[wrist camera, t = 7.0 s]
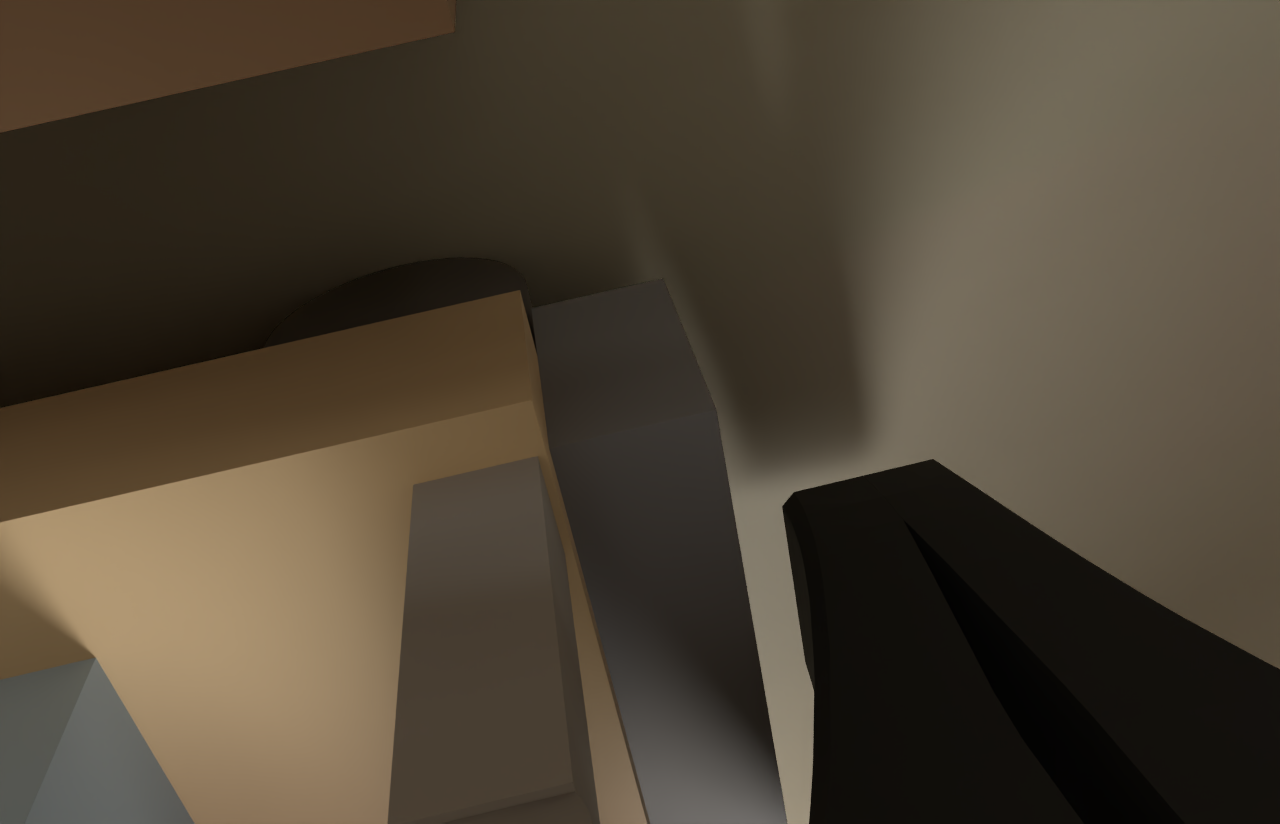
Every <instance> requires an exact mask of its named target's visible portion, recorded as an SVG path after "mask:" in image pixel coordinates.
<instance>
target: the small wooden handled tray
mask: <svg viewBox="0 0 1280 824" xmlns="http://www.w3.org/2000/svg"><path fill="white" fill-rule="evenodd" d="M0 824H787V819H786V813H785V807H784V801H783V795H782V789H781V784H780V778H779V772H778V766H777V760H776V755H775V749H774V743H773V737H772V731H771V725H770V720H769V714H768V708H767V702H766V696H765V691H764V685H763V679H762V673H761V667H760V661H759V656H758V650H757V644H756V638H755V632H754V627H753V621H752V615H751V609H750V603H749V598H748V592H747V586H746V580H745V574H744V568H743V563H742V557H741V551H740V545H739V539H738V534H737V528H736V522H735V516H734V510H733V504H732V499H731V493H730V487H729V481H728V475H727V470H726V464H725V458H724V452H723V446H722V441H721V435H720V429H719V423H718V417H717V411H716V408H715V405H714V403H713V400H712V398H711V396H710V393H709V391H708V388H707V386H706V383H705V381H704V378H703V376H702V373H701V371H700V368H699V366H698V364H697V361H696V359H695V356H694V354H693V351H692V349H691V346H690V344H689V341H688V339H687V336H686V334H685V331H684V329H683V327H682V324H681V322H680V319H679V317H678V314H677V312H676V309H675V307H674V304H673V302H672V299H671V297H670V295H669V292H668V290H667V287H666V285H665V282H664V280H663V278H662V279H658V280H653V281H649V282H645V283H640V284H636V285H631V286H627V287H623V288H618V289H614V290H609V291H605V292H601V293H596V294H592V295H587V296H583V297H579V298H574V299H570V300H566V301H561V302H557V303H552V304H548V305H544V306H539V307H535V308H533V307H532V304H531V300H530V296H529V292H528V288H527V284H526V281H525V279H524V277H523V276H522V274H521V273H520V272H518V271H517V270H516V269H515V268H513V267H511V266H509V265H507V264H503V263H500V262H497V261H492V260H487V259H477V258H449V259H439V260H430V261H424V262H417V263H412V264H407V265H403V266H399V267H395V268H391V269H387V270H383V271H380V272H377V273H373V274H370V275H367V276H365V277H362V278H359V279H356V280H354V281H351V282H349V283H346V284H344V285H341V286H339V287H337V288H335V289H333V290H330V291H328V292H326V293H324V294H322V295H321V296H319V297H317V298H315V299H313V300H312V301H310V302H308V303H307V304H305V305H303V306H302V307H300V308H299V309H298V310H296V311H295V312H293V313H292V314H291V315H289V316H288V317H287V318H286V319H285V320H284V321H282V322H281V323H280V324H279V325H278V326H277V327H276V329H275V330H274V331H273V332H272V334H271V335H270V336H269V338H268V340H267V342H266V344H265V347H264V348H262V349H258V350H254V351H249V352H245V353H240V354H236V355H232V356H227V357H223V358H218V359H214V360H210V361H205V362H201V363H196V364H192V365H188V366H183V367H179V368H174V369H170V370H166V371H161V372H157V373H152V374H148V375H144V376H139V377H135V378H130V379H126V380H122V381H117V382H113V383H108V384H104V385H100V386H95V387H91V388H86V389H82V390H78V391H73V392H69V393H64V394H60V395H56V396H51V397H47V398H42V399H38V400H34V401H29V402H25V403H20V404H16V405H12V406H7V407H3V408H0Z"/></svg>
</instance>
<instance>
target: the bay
mask: <svg viewBox="0 0 1280 824" xmlns="http://www.w3.org/2000/svg"><path fill="white" fill-rule="evenodd" d="M455 19H456V0H0V133H1V132H6V131H10V130H15V129H19V128H24V127H28V126H33V125H37V124H42V123H46V122H51V121H55V120H60V119H64V118H69V117H74V116H78V115H83V114H87V113H92V112H96V111H101V110H105V109H110V108H114V107H119V106H123V105H128V104H132V103H137V102H141V101H146V100H150V99H155V98H159V97H164V96H168V95H173V94H177V93H182V92H186V91H191V90H195V89H200V88H205V87H209V86H214V85H218V84H223V83H227V82H232V81H236V80H241V79H245V78H250V77H254V76H259V75H263V74H268V73H272V72H277V71H281V70H286V69H290V68H295V67H299V66H304V65H308V64H313V63H317V62H322V61H327V60H331V59H336V58H340V57H345V56H349V55H354V54H358V53H363V52H367V51H372V50H376V49H381V48H385V47H390V46H394V45H399V44H403V43H408V42H412V41H417V40H421V39H426V38H430V37H435V36H439V35H444V34H448V33H453V32H455Z"/></svg>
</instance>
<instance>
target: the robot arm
mask: <svg viewBox="0 0 1280 824" xmlns="http://www.w3.org/2000/svg"><path fill="white" fill-rule="evenodd" d="M782 508H783V515H784V522H785V528H786V535H787V542H788V549H789V555H790V562H791V569H792V575H793V582H794V589H795V595H796V602H797V609H798V616H799V622H800V629H801V636H802V642H803V649H804V656H805V662H806V665H807V669H808V672H809V675H810V678H811V682H812V685H813V689H814V744H813V775H812V791H811V806H810V819H809V824H1280V669H1278V668H1276V667H1274V666H1272V665H1270V664H1268V663H1266V662H1264V661H1263V660H1261V659H1259V658H1257V657H1255V656H1253V655H1252V654H1250V653H1248V652H1246V651H1244V650H1242V649H1240V648H1239V647H1237V646H1235V645H1233V644H1231V643H1229V642H1227V641H1226V640H1224V639H1222V638H1220V637H1218V636H1216V635H1214V634H1213V633H1211V632H1209V631H1207V630H1205V629H1203V628H1202V627H1200V626H1198V625H1196V624H1194V623H1192V622H1190V621H1189V620H1187V619H1185V618H1183V617H1181V616H1180V615H1178V614H1176V613H1175V612H1173V611H1171V610H1169V609H1168V608H1166V607H1164V606H1162V605H1161V604H1159V603H1157V602H1155V601H1154V600H1152V599H1150V598H1149V597H1147V596H1145V595H1143V594H1142V593H1140V592H1138V591H1137V590H1135V589H1134V588H1132V587H1130V586H1129V585H1127V584H1125V583H1124V582H1122V581H1120V580H1119V579H1117V578H1116V577H1114V576H1112V575H1111V574H1109V573H1107V572H1106V571H1104V570H1102V569H1101V568H1099V567H1098V566H1096V565H1094V564H1093V563H1091V562H1089V561H1088V560H1086V559H1084V558H1083V557H1081V556H1080V555H1078V554H1077V553H1075V552H1073V551H1072V550H1070V549H1069V548H1067V547H1066V546H1064V545H1063V544H1061V543H1059V542H1058V541H1056V540H1055V539H1053V538H1052V537H1050V536H1049V535H1047V534H1046V533H1044V532H1043V531H1041V530H1039V529H1038V528H1036V527H1035V526H1033V525H1032V524H1030V523H1029V522H1027V521H1026V520H1024V519H1023V518H1021V517H1020V516H1018V515H1017V514H1015V513H1014V512H1012V511H1011V510H1009V509H1008V508H1006V507H1005V506H1003V505H1002V504H1000V503H999V502H997V501H996V500H994V499H993V498H991V497H990V496H988V495H987V494H985V493H984V492H982V491H981V490H979V489H978V488H976V487H975V486H973V485H972V484H970V483H969V482H967V481H966V480H964V479H963V478H961V477H960V476H958V475H956V474H955V473H953V472H952V471H950V470H949V469H947V468H946V467H944V466H943V465H941V464H940V463H938V462H937V461H935V460H934V459H932V460H927V461H923V462H919V463H915V464H911V465H906V466H902V467H898V468H894V469H890V470H885V471H881V472H877V473H873V474H869V475H864V476H860V477H856V478H852V479H848V480H843V481H839V482H835V483H831V484H827V485H822V486H818V487H814V488H810V489H806V490H801V491H797V492H794V493H793V494H792V495H791V496H790V498H789V499H788V500H787V501H786V502H785V504H784V505H783V506H782Z"/></svg>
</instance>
